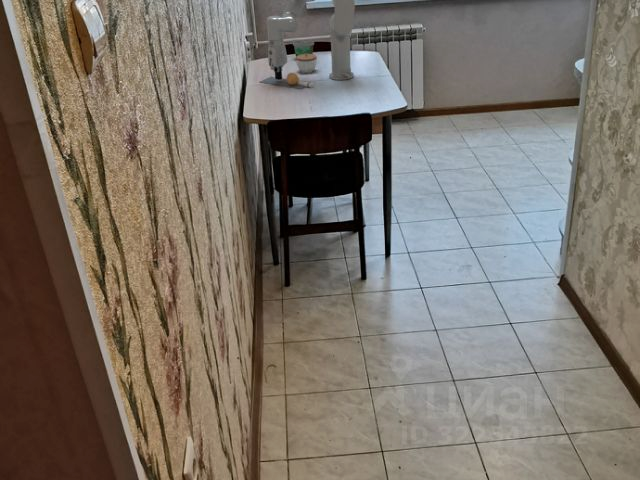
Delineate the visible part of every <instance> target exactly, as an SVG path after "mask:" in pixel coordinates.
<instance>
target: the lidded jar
mask: <svg viewBox="0 0 640 480" xmlns="http://www.w3.org/2000/svg"><path fill="white" fill-rule="evenodd" d="M317 57H318V56H317V55H316V54H314V53H313V54H307V53H305V54H302V55H298V56H297V57H296V56H295V59H296V65H297V68H298V70H299V71H300V72H301V73H306V74H308V73H312V72H313V71H314V70H315V69H316V67H317Z"/></svg>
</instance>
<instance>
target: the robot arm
mask: <svg viewBox="0 0 640 480" xmlns="http://www.w3.org/2000/svg"><path fill="white" fill-rule="evenodd" d="M308 1H309V0H288V1H287V3H286V6H285V8H284V11H283V13H282V15H281V16H280V15H270V16H268V17H267V18H266V28H267V30H266V31H267V42H268V44H267V45H268V47H267V48H268V49H267V51H268V52H267V61H268V66H269V67H270V70H272V71H273V72H274V77H275V79H278V80H281V79H282V78H283V73H282V71H283V67H284V66H285V65H286V64H287V63H288V54H287V49H286V45H285V43H284V33H294V32H296V31H297V29H298V28H299V25H300V24H299V21H298V18H299V16H300V13H301V11H302V8H303V7H304V6H305V4H306V3H307V2H308ZM355 2H356V1H355V0H332V4H333V6H334V13H333V14H332V16H331V17H330V19H329V32H330V46H331V47H330V48H331V49H330V51H331V53H330V54H331V55H330V56H331V73H329V74H328V77H329V79H332V80H335V81H345V80H351V79H352V78H354V76H355V74H354V72H352V69H351V36H350V34H351V33H352V31H353V28H354V21H355V20H354V19H355V11H356V10H355V8H356V5H355Z"/></svg>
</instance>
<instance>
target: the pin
mask: <svg viewBox="0 0 640 480" xmlns="http://www.w3.org/2000/svg"><path fill="white" fill-rule="evenodd" d="M297 85H300V86H306V87H307V88H313V87H314V83H313V82H306V81H301V80H298V82H297ZM306 87H305V88H306Z"/></svg>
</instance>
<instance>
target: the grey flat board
mask: <svg viewBox="0 0 640 480" xmlns="http://www.w3.org/2000/svg"><path fill="white" fill-rule="evenodd" d="M259 83H262V84H268V85H272V86H278V85H279V87H284V86H285V87H286V88H291V89H297V90H302V89H304V88H306V86H300V85H297V84H295V85H290V84H288V83H287V80H286V78H283V77H282V79H281V80H278V79H275V76H270V77H267V78H265V79H262V80H260V81H259Z"/></svg>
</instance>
